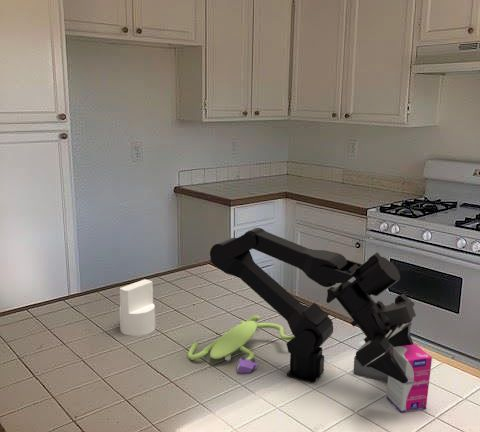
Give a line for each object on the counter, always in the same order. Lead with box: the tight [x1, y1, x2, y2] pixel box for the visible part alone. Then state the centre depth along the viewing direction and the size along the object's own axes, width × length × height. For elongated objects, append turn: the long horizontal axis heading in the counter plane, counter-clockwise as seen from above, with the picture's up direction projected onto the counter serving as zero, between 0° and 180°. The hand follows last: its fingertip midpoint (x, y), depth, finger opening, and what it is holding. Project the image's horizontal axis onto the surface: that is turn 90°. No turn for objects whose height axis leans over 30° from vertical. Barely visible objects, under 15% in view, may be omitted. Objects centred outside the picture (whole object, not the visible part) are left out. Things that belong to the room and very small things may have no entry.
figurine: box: [187, 315, 294, 374], centre depth 130 cm, size 18×27×6 cm
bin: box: [352, 341, 394, 384], centre depth 121 cm, size 12×12×4 cm
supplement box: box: [386, 343, 433, 413], centre depth 107 cm, size 6×6×12 cm
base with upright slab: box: [119, 278, 156, 337], centre depth 140 cm, size 9×9×12 cm
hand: (412, 371), depth 106 cm, fingers open, 9 cm apart
